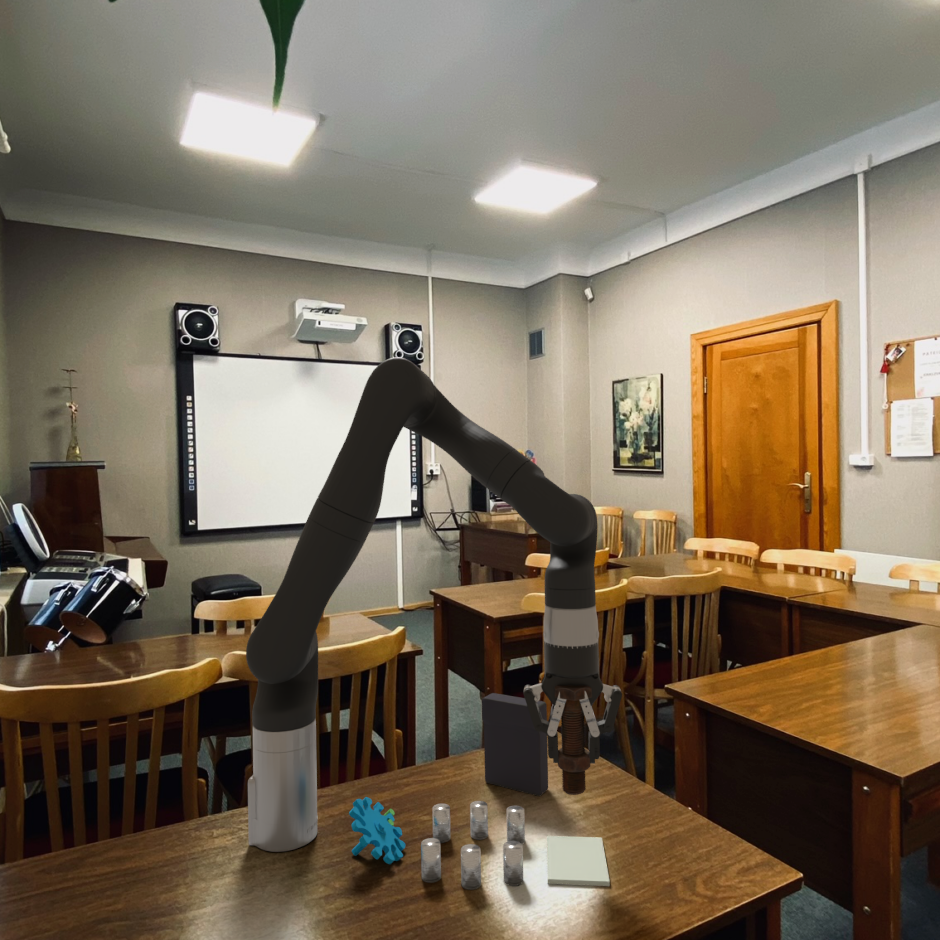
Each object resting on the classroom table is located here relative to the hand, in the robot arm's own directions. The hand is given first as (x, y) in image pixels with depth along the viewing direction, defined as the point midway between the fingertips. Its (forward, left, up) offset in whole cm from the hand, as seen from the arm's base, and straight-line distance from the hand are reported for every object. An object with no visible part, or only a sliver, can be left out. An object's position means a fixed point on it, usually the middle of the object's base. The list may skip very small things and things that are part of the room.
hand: (573, 760), depth 95 cm
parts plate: (0, 0, -14) cm, 14 cm away
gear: (-28, 0, -14) cm, 31 cm away
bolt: (0, 0, -4) cm, 4 cm away
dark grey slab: (-9, +23, -14) cm, 28 cm away
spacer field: (-14, 0, -14) cm, 20 cm away
